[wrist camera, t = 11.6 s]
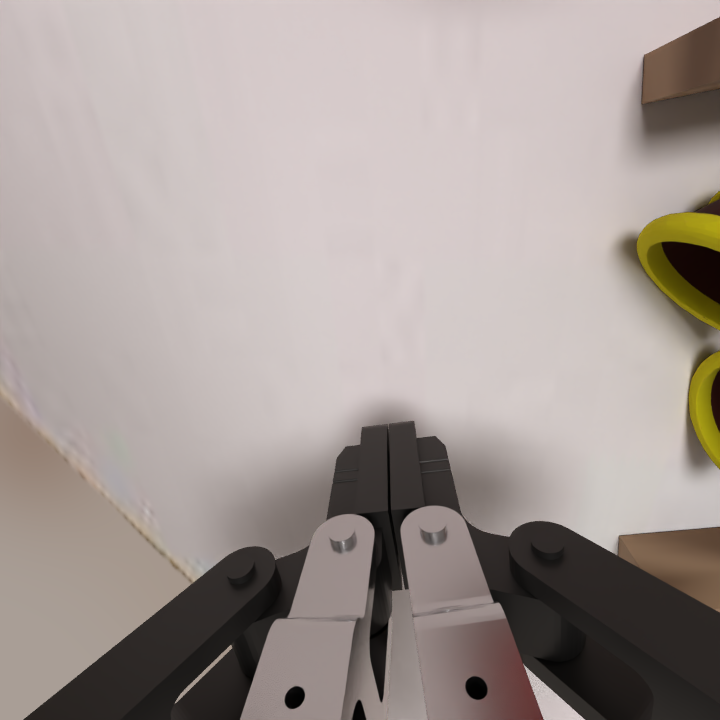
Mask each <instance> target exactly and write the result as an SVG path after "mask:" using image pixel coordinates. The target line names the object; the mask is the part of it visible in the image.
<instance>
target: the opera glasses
mask: <svg viewBox="0 0 720 720" xmlns="http://www.w3.org/2000/svg"><path fill="white" fill-rule="evenodd" d="M637 253H638V256H639V259H640V262H641V264H642V266H643V268H644V269H645V271H646V273H647V274H648V276H649V277H650V278H651V279H652V280H653V281H654V283H655V284H656V285H657V286H658V287H659V288H660V290H662V291H663V292H664V293H665V294H666V295H667V296H668V297H670V298H671V299H672V300H673V301H674V302H675V303H677V304H678V305H679V306H680V307H682V308H683V309H685V310H686V311H687V312H689V313H690V314H692V315H693V316H695V317H696V318H698V319H699V320H701V321H703V322H705V323H707V324H708V325H710V326H712V327H714V328H716V329H718V330H720V191H719V192H718V193H717V194H716V195H715V196H714V197H713V198H712V199H711V200H710V202H709V204H708V205H707V206H705V207H703V208H701V209H699V210H697V211H696V212H694V213H692V212H685V213H675V214H669V215H666V216H663V217H660V218H658V219H655V220H653V221H652V222H650V223H649V224H648V225H647V226H646V227H645V228H644V229H643V230H642V232H641V233H640V235H639V238H638V240H637ZM718 303H719V304H718ZM717 372H718V373H717ZM714 378H715V379H714ZM711 407H712V408H711ZM689 410H690V418H691V421H692V423H693V426H694V429H695V432H696V435H697V437H698V439H699V441H700V443H701V445H702V447H703V448H704V450H705V451H706V453H707V454H708V456H709V457H710V459H711V460H712V461H713V462H714V464H715V465H716V466H717V467H718V468H719V469H720V351H718V352H716V353H714V354H712V355H710V356H709V357H708V358H707V359H705V360H704V361H703V362H702V363H701V364H700V366H699V367H698V369H697V370H696V372H695V374H694V375H693V377H692V380H691V384H690V389H689Z"/></svg>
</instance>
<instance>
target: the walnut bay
mask: <svg viewBox="0 0 720 720" xmlns="http://www.w3.org/2000/svg"><path fill="white" fill-rule="evenodd" d="M716 89H720V17H719V18H717V19H715V20H713V21H711V22H709V23H707V24H705V25H703V26H701V27H699V28H697V29H695V30H693V31H691V32H689V33H687V34H685V35H683V36H681V37H679V38H677V39H675V40H673V41H671V42H669V43H667V44H665V45H663V46H661V47H659V48H658V49H656V50H654V51H652V52H650V53H648V54H646V55H644V75H643V94H642V104H645V103H650V102H655V101H660V100H665V99H670V98H675V97H681V96H686V95H691V94H696V93H701V92H706V91H711V90H716ZM618 556H619V557H621V558H622V559H624V560H626V561H628V562H630V563H631V564H633V565H635V566H637V567H639V568H640V569H642V570H644V571H646V572H648V573H649V574H651V575H653V576H655V577H657V578H658V579H660V580H662V581H664V582H666V583H668V584H669V585H671V586H673V587H675V588H677V589H678V590H680V591H682V592H684V593H686V594H687V595H689V596H691V597H693V598H695V599H696V600H698V601H700V602H702V603H704V604H705V605H707V606H709V607H711V608H713V609H714V610H716V611H718V612H720V527H717V528H706V529H694V530H682V531H671V532H659V533H648V534H636V535H624V536H619V551H618Z"/></svg>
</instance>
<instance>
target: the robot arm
mask: <svg viewBox="0 0 720 720" xmlns="http://www.w3.org/2000/svg"><path fill="white" fill-rule="evenodd" d="M401 569H402V573H401ZM402 575H403V580H404V586H405V589H409V592H410V599H411V606H412V612H413V614H412V616H413V623H414V630H415V637H416V644H417V650H418V657H419V664H420V671H421V677H422V684H423V691H424V698H425V704H426V711H427V718H428V720H543V717H542V714H541V711H540V709H539V706H538V703H537V700H536V698H535V695H534V692H533V690H532V687H531V684H530V681H529V679H528V676H527V673H526V670H525V668H524V665H525V666H526V667H527V668H528V669H529V670H530V671H531V672H532V673H534V674H535V675H536V676H537V677H538V678H539V679H540V680H541V681H543V682H544V683H545V684H546V685H547V686H548V687H549V688H550V689H551V690H553V691H554V692H555V693H556V694H557V695H558V696H559V697H560V698H562V699H563V700H564V701H565V702H566V703H567V704H568V705H569V706H571V707H572V708H573V709H574V710H575V711H576V712H577V713H578V714H579V715H581V716H582V717H583V718H584V719H585V720H720V612H718V611H716V610H714V609H713V608H711V607H709V606H707V605H705V604H704V603H702V602H700V601H698V600H696V599H695V598H693V597H691V596H689V595H687V594H686V593H684V592H682V591H680V590H678V589H677V588H675V587H673V586H671V585H669V584H668V583H666V582H664V581H662V580H660V579H658V578H657V577H655V576H653V575H651V574H649V573H648V572H646V571H644V570H642V569H640V568H639V567H637V566H635V565H633V564H631V563H630V562H628V561H626V560H624V559H622V558H621V557H619V556H617V555H615V554H613V553H612V552H610V551H608V550H606V549H604V548H602V547H601V546H599V545H597V544H595V543H593V542H592V541H590V540H588V539H586V538H584V537H583V536H581V535H579V534H577V533H575V532H574V531H572V530H570V529H568V528H566V527H564V526H562V525H559V524H556V523H552V522H545V521H535V522H529V523H525V524H523V525H521V526H519V527H518V528H516V529H515V530H514V531H513V532H512V534H511V536H510V537H506V536H500V535H494V534H490V533H486V532H483V531H481V530H479V529H477V528H475V527H474V526H472V525H471V524H469V523H468V522H467V521H466V520H465V518H464V517H463V515H462V514H461V511H460V507H459V503H458V498H457V494H456V490H455V486H454V481H453V477H452V473H451V469H450V464H449V461H448V456H447V451H446V447H445V445H444V444H443V443H442V442H441V441H440V440H439V439H438V438H437V437H436V436H431V437H423V438H416V431H415V424H414V421H408V422H400V423H392V424H389V429H388V425H387V424H384V425H376V426H368V427H362V432H361V444H360V445H355V446H346V447H345V448H344V450H343V451H342V452H341V454H340V455H339V456H338V457H337V460H336V466H335V473H334V478H333V484H332V490H331V496H330V502H329V508H328V514H327V520H326V521H325V522H324V523H322V524H321V525H320V526H319V527H318V528H317V529H316V531H315V532H314V534H313V537H312V539H311V543H310V545H309V546H308V547H306V548H305V549H303V550H301V551H298V552H296V553H293V554H291V555H288V556H285V557H282V558H280V559H277V560H275V558H274V556H273V554H272V553H271V552H270V551H269V550H267V549H265V548H262V547H256V546H255V547H246V548H243V549H239V550H237V551H235V552H233V553H231V554H229V555H228V556H227V557H225V558H224V559H222V560H221V561H220V562H219V563H218V564H216V565H215V566H214V567H213V568H211V569H210V570H209V571H208V572H206V573H205V574H204V575H203V576H201V577H200V578H199V579H198V580H196V581H195V582H194V583H193V584H191V585H190V586H189V587H188V588H187V589H185V590H184V591H183V592H181V593H180V594H179V595H178V596H176V597H175V598H174V599H173V600H172V601H171V602H169V603H168V604H167V605H165V606H164V607H163V608H162V609H160V610H159V611H158V612H157V613H156V614H154V615H153V616H152V617H150V618H149V619H148V620H147V621H145V622H144V623H143V624H142V625H140V626H139V627H138V628H137V629H136V630H134V631H133V632H132V633H131V634H129V635H128V636H127V637H125V638H124V639H123V640H122V641H121V642H119V643H118V644H117V645H116V646H114V647H113V648H112V649H111V650H109V651H108V652H107V653H106V654H104V655H103V656H102V657H101V658H99V659H98V660H97V661H96V662H95V663H93V664H92V665H91V666H89V667H88V668H87V669H86V670H84V671H83V672H82V673H81V674H80V675H78V676H77V677H76V678H75V679H73V680H72V681H71V682H70V683H68V684H67V685H66V686H65V687H63V688H62V689H61V690H60V691H59V692H57V693H56V694H55V695H53V696H52V697H51V698H50V699H48V700H47V701H46V702H45V703H43V704H42V705H41V706H40V707H38V708H37V709H36V710H35V711H33V712H32V713H31V714H30V715H29V716H27V717H26V718H25V719H24V720H388V697H389V679H390V662H391V645H392V627H393V623H392V616H391V612H392V591H394V590H402ZM230 645H232V649H231V650H230V651H229V652H228V653H227V654H226V655H225V656H224V657H223V658H222V659H221V660H220V661H219V662H218V663H217V664H216V665H215V666H214V667H213V668H212V669H211V670H210V671H209V672H208V673H207V674H206V675H205V676H203V677H202V678H201V679H200V680H199V681H198V682H197V683H196V684H195V685H194V686H193V687H192V688H191V689H190V690H189V691H188V692H187V693H186V694H185V695H184V696H183V697H182V698H181V699H180V700H179V701H178V702H177V703H175V701H176V700H177V698H178V696H179V695H180V694H181V693H182V692H183V690H184V689H185V688H186V687H187V686H188V685H189V684H190V683H192V682H193V680H195V679H196V678H197V677H198V676H199V675H200V674H201V673H202V672H203V671H204V670H205V669H206V668H207V667H208V666H209V665H210V664H211V663H212V662H213V661H214V660H215V659H216V658H217V657H218V656H219V655H220V654H221V653H222V652H224V651H225V650H226V649H227V648H228V647H229V646H230ZM523 664H524V665H523ZM174 703H175V704H174Z"/></svg>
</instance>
